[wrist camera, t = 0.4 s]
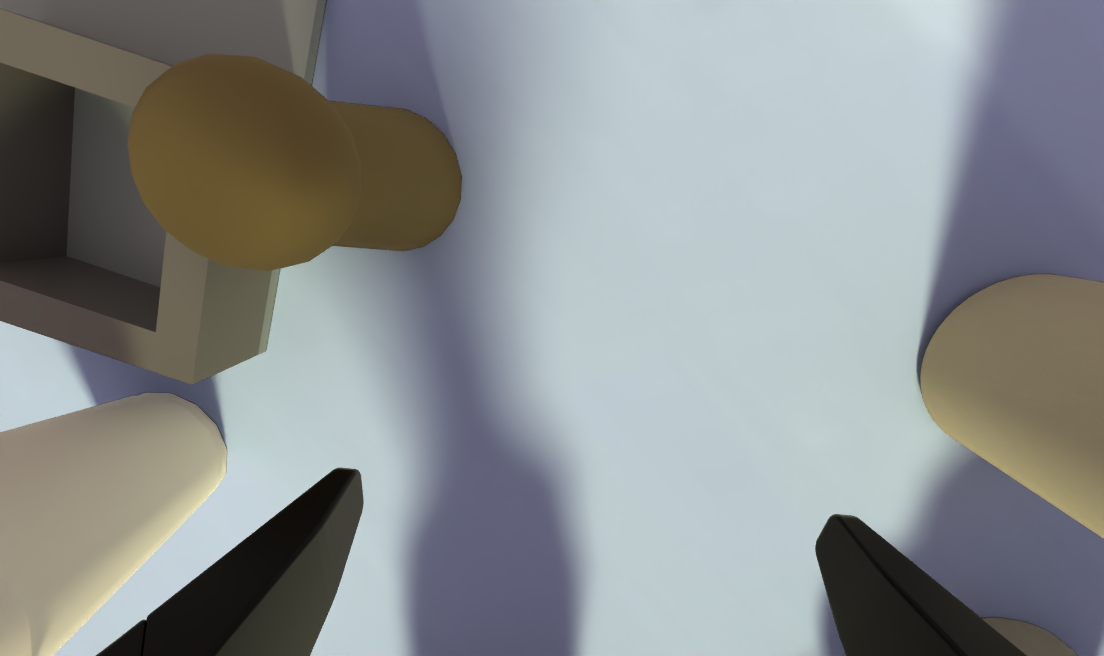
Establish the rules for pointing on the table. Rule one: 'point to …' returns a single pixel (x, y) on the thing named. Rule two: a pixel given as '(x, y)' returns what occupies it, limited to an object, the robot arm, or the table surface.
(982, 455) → the travel mug
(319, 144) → the cork
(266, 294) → the socket
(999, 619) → the coffee mug
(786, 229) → the table surface
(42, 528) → the foam cup
